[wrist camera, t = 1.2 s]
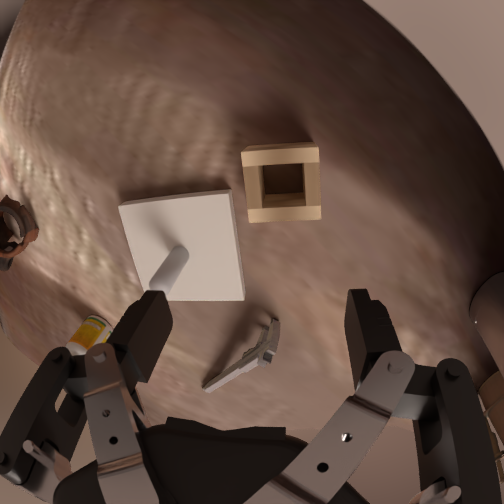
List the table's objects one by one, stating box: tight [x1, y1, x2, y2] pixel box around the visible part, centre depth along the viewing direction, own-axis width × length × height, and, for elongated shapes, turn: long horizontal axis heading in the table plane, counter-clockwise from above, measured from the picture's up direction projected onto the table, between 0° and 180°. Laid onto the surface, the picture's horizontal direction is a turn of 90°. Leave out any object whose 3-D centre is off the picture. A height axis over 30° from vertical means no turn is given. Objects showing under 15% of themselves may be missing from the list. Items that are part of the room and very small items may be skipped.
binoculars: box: [479, 370, 504, 483], centre depth 30 cm, size 21×10×25 cm, turn 139°
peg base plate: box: [118, 189, 246, 301], centre depth 27 cm, size 12×12×8 cm
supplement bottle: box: [66, 315, 113, 356], centre depth 35 cm, size 5×5×10 cm
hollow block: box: [241, 142, 321, 223], centre depth 24 cm, size 6×6×4 cm
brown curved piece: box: [0, 195, 39, 271], centre depth 30 cm, size 12×10×8 cm
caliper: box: [202, 319, 280, 393], centre depth 36 cm, size 20×1×6 cm, turn 148°
